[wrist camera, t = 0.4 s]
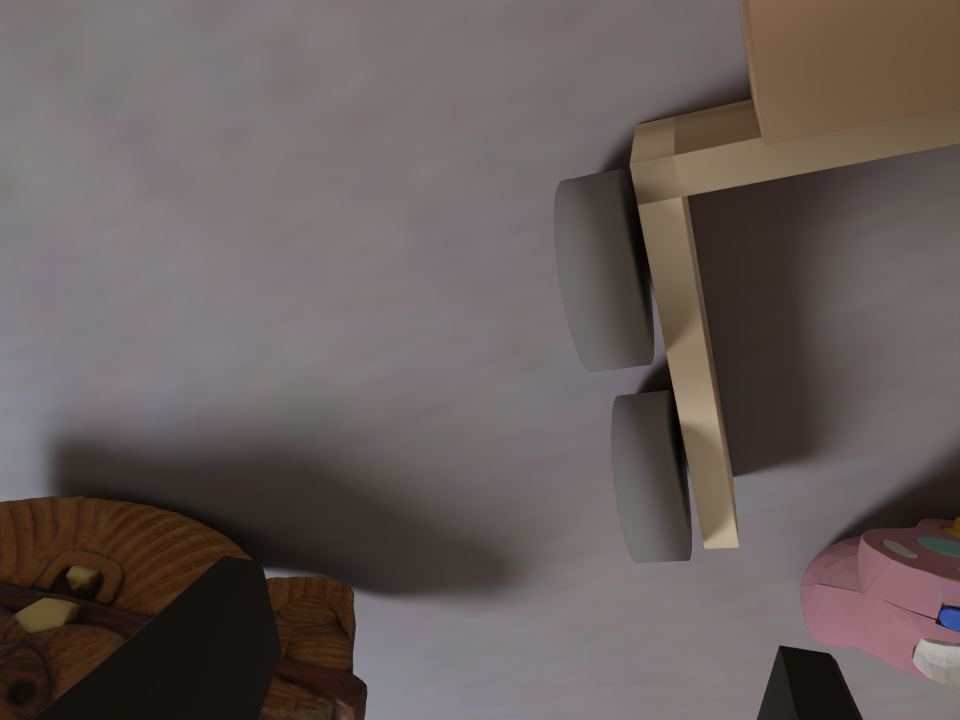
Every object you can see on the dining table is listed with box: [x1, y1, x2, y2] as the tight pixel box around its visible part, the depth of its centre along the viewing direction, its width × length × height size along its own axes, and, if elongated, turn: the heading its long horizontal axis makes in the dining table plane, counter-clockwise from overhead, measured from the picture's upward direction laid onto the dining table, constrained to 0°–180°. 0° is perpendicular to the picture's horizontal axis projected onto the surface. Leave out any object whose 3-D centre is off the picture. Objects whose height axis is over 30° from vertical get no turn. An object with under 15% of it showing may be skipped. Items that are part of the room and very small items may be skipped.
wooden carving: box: [0, 496, 367, 720], centre depth 23 cm, size 16×5×10 cm, turn 87°
